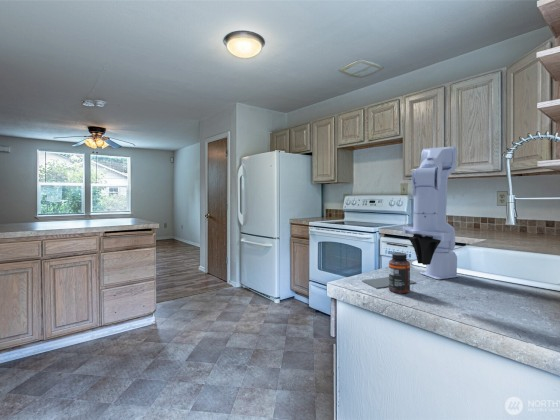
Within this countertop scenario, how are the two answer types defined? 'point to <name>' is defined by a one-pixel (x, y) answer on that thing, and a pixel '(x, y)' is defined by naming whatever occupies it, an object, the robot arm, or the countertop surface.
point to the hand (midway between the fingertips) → (424, 263)
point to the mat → (380, 282)
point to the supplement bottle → (399, 273)
